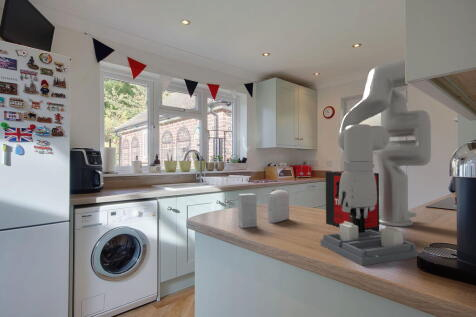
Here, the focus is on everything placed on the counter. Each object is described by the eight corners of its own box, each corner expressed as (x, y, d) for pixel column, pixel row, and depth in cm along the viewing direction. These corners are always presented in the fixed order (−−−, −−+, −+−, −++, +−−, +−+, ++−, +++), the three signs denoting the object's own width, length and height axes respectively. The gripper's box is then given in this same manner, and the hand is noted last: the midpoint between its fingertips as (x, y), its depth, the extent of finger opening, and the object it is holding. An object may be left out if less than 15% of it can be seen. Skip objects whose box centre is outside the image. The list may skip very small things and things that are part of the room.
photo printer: (275, 223, 102) (274, 191, 102) (266, 221, 105) (266, 190, 105) (290, 219, 109) (290, 189, 109) (282, 217, 112) (282, 188, 112)
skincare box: (252, 224, 101) (252, 193, 101) (257, 226, 97) (256, 194, 97) (237, 225, 100) (237, 193, 100) (241, 228, 96) (241, 195, 96)
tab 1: (348, 238, 77) (348, 220, 77) (358, 242, 73) (358, 223, 73) (339, 239, 76) (339, 221, 76) (349, 243, 73) (349, 224, 73)
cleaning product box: (379, 232, 89) (378, 173, 90) (358, 234, 86) (358, 173, 87) (344, 221, 105) (344, 171, 105) (326, 223, 102) (325, 171, 102)
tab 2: (389, 244, 72) (389, 225, 72) (403, 248, 68) (403, 228, 68) (381, 245, 71) (381, 226, 71) (394, 250, 67) (394, 229, 67)
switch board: (370, 238, 82) (370, 228, 82) (419, 256, 67) (419, 244, 67) (320, 244, 77) (320, 234, 77) (361, 265, 61) (361, 252, 61)
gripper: (368, 167, 82) (369, 226, 82) (328, 167, 77) (328, 230, 77) (389, 167, 75) (389, 232, 75) (346, 168, 70) (346, 237, 70)
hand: (358, 231), depth 76 cm, fingers closed
